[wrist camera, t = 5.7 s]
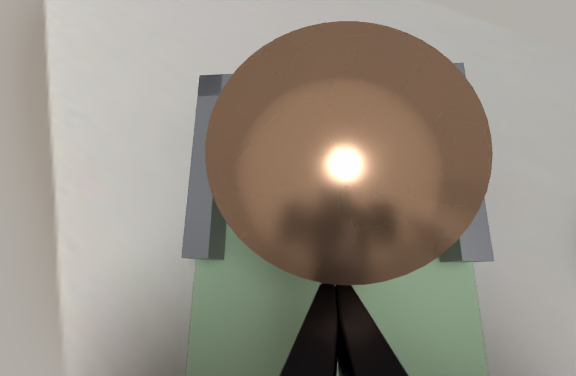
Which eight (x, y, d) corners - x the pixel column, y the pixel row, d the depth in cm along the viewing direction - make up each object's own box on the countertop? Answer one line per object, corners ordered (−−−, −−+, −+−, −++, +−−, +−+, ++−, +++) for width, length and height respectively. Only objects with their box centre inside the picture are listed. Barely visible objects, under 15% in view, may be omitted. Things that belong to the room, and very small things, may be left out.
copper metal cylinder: (411, 280, 15) (514, 291, 7) (254, 275, 15) (190, 280, 8) (401, 133, 17) (472, 14, 9) (262, 135, 17) (217, 27, 10)
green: (512, 603, 12) (522, 620, 11) (174, 566, 13) (167, 580, 13) (444, 96, 18) (449, 90, 17) (213, 105, 19) (209, 100, 18)
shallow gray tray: (466, 262, 15) (493, 260, 12) (201, 259, 16) (181, 257, 14) (443, 90, 17) (463, 62, 15) (214, 100, 18) (199, 75, 16)
